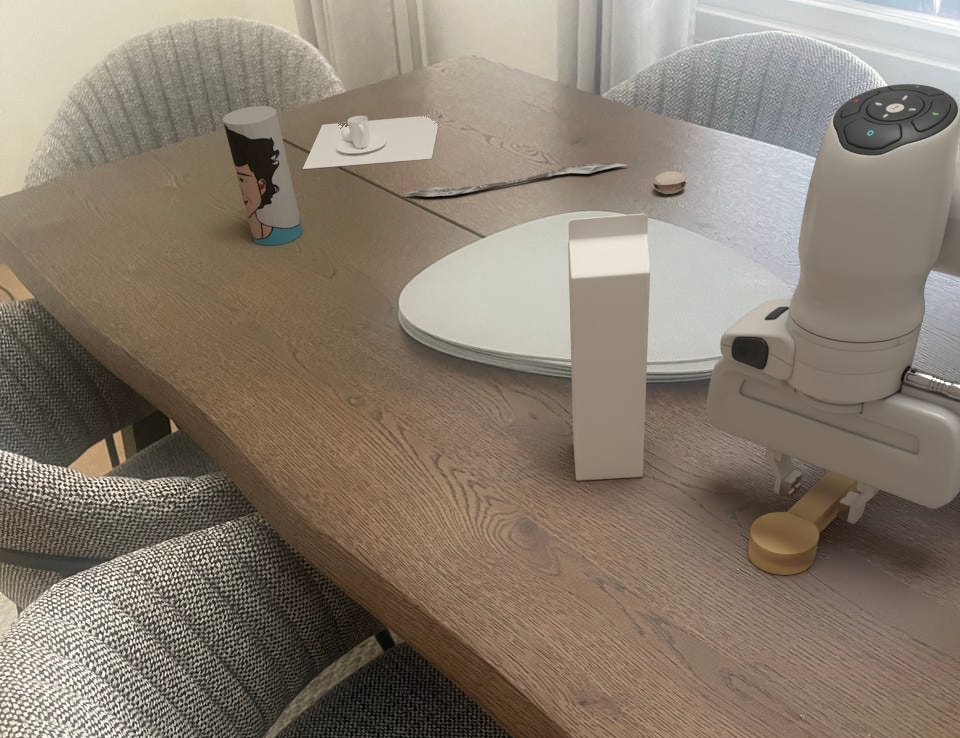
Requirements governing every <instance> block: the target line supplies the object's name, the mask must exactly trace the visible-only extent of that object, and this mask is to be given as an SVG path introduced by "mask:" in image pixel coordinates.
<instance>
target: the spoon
mask: <svg viewBox="0 0 960 738" xmlns="http://www.w3.org/2000/svg"><path fill="white" fill-rule="evenodd" d="M857 484H858V481H855V480H853V479H850V478H847V477H845V476H842V475H839V474H837V473H834V472H831V471H827V472H826V473H825V474H824V475H823V476H822V477H821V478H820V479H819V480H818V481H817V482H816V483H815V484H814V485H813V486H812V487H811V488H810V489H809V490H808V491H807V492H806V493H804V495H803V496H801V498H799V499H798V501H796V503H795V502H794V504H793V505H792V506H791V507H790V508H789V509H787V511H773V512H769V513H766V514H763V515H761V516H759V517H757V518H756V519H755V520H754V521H753V522H752V524H751V526H750V529H749V538H748V543H747V544H748V545H747V556H748V559H749V560H750V562H751V563H752V564H753V565H754V566H755V567H756V568H758V569H760V570H762V571H764V572H766V573H768V574H773V575H778V576H779V575H780V576H790V575H796V574H799V573H803V572H804V571H806V570H808V569H809V568H810V567H811V566H812V565H813V564H814V562H815V559H816V555H817V550H818V546H819V541H820V534H821V533H822V532H823V531H824V530H825V529H826V528H827V527H828V526H829V525H830V523H832V522H833V521H834V519H835V518H837V517H836V515H837V512H838V511H839V510H838V505H839V502H840V501H841V500H842V499H843V498H844V497H846V495H847V494H848V493H849V492H850V491H852V492H855V493H858V494H860V493H861V492H860V491H857Z"/></svg>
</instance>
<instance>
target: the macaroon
mask: <svg viewBox="0 0 960 738" xmlns="http://www.w3.org/2000/svg"><path fill="white" fill-rule="evenodd" d="M686 181H687V177H686V175H685V174H683V173H681V172H679V171H676V170H675V171H669V170H667V171H664V172H661V173H659V174H658V175H657V176H655V178H654V181H653V187H654V189H655V191H656V192H658V193H661V194H663V195H674V194H676V193H680V192H681V191H682V190H683V189H684V188H685V187H686V185H687V182H686Z"/></svg>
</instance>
